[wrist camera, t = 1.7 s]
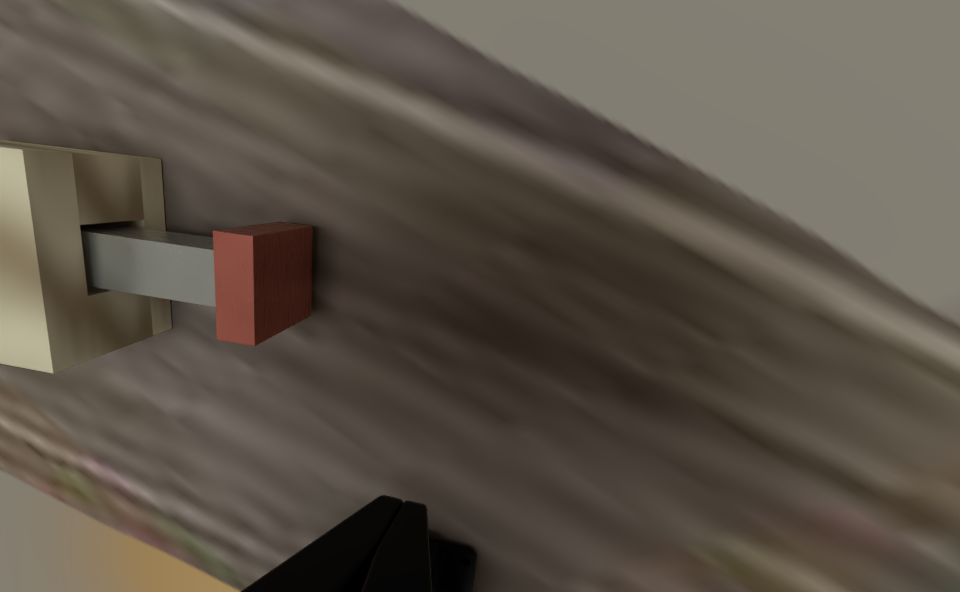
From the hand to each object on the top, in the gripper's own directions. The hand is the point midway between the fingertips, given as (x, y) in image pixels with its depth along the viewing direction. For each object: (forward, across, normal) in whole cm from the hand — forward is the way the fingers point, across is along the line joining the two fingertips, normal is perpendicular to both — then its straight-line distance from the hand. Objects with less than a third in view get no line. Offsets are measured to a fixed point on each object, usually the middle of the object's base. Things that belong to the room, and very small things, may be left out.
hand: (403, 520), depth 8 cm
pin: (+12, +14, -1) cm, 18 cm away
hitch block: (+12, +20, -1) cm, 23 cm away
